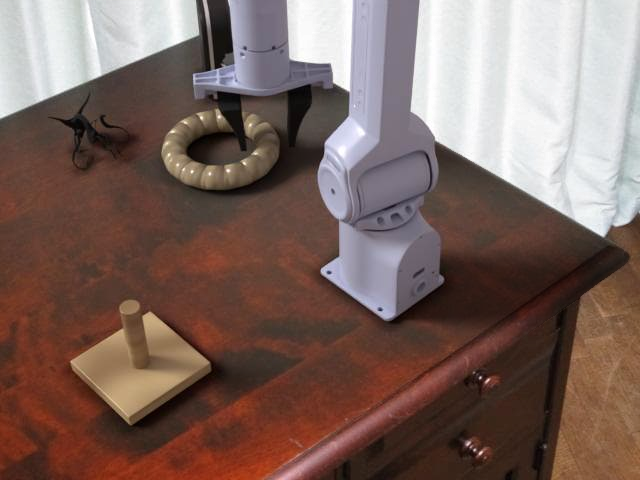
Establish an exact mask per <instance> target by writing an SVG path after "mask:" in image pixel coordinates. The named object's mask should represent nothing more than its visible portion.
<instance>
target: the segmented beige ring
mask: <svg viewBox="0 0 640 480" xmlns="http://www.w3.org/2000/svg"><path fill="white" fill-rule="evenodd" d="M242 117H243V122H244V128H245V135H246V138H248V139H250V140H251V141H253V143H254V144H255V148H254V150H253V152H252V153H251V154H250V155H249V156H247V157H245V158H243V159H242V160H240V161H238V162H237V161H236V162H234V163H229V164H225V165H219V164H218V165H217V164H216V165H215V164H214V165H208V164H204V163H201V162H198V161H195V160H194V159H193V158H191V157H190V156H189V155H188V153H187V149H188V147H189V146H190V145H191V144H192V143H193V142H194V141H196V140H198V139H200V138H202V137H203V136H208V135H213V134H216V133H234V131H233V129H232V128H231V126H230V124H229V123H228V122H227V120H226V119H225V118H224V117H223V116H222V115H221V113H220V111H219V108H212V109H208V110H205V111H200V112H195V113H194V114H191V115H190V116H188V117H185V118H184V119H182V120H180V121H178V122H177V123H176V124H175V125H174V126H173V127H172V128H171V129H170V130H169V132H168V133H167V134H166V135H165V137H164V138H163V139H164V140H163V144H162V149H161V158H162V162H163V163H164V165H165V167H166V170H167V172H168V173H169V174H170V175H171V176H173V177H174V178H175V179H177V180H178V181H179V182H181V183H182V184H183V185H186V186H189V187H192V188H196V189H201V190H204V191H229V190H234V189H237V188H241V187H245V186H249V185H251V184H253V183H255V182H257V180H259V179H261V178H263V177H265V176H266V175H267V174H268V173H269V172H270V170H272V168H273V167H274V165H275V164H276V163H277V161H278V159H279V155H280V148H281V147H280V146H281V140H280V137H279V136H278V133H277V132H276V130H275V129H274V127H273V125H272V124H271V123H270V122H268V121H267V120H265V119H264V118H262V117H260V116H259V115H258V114H255V113H253V112H248V111H244V110H242Z"/></svg>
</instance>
